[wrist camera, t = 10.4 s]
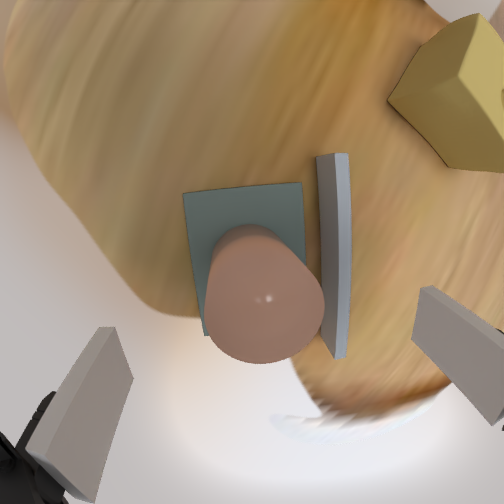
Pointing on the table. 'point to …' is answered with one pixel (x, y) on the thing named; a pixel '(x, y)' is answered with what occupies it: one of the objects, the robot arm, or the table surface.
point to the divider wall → (335, 249)
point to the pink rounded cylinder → (260, 297)
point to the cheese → (458, 94)
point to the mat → (241, 222)
